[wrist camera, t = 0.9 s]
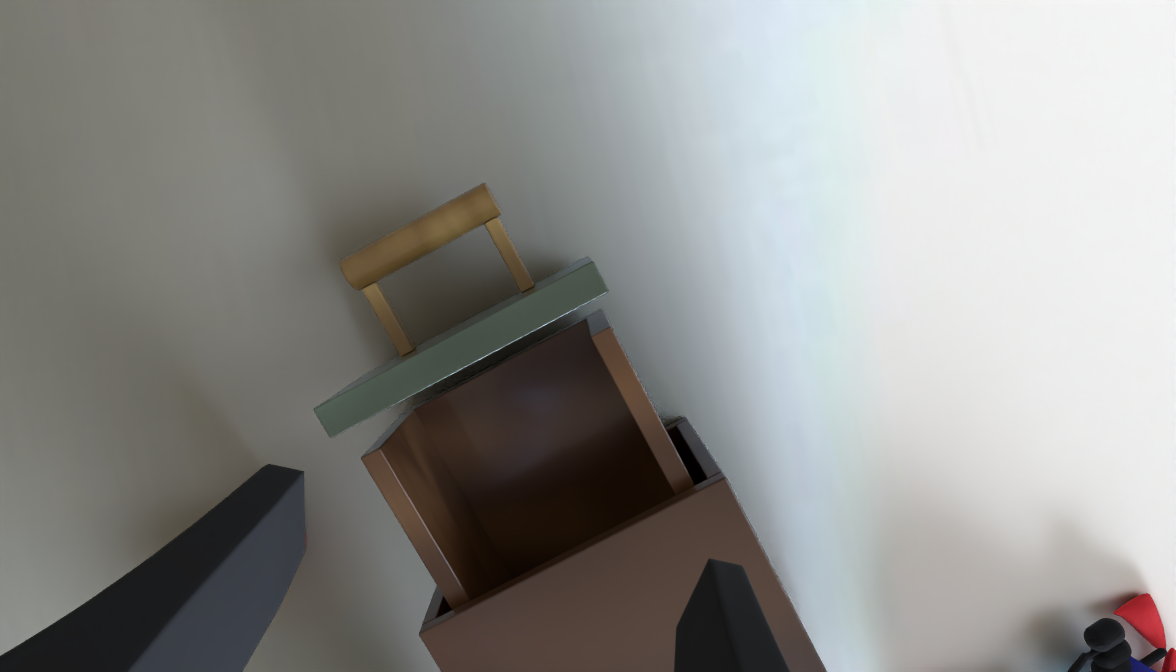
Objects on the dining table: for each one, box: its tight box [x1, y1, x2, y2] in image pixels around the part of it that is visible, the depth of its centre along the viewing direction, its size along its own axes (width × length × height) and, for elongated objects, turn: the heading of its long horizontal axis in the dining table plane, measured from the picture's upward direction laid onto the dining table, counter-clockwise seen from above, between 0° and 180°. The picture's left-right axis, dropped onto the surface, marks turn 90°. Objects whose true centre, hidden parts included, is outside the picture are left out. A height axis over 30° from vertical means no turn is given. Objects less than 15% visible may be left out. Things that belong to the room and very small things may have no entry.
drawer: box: [313, 183, 695, 610], centre depth 27 cm, size 17×11×7 cm, turn 28°
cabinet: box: [419, 417, 827, 672], centre depth 29 cm, size 14×12×8 cm
